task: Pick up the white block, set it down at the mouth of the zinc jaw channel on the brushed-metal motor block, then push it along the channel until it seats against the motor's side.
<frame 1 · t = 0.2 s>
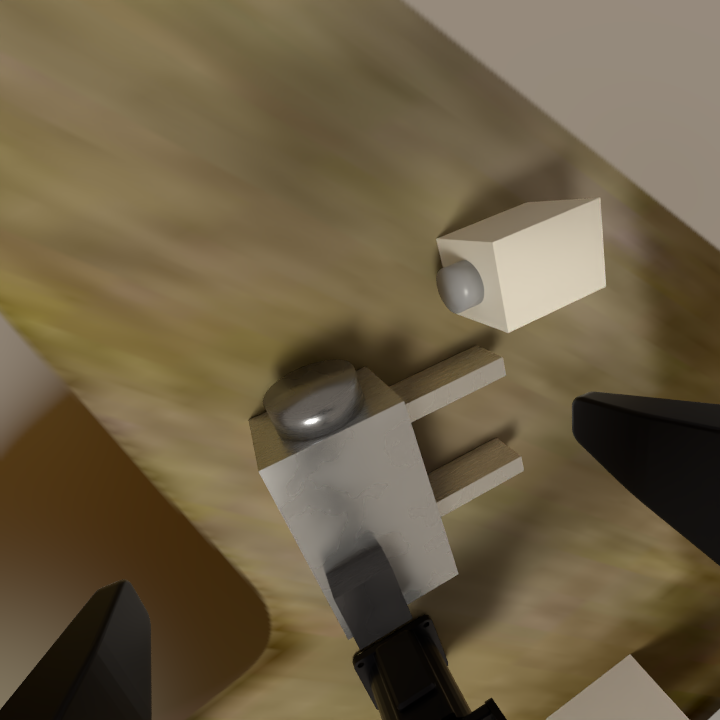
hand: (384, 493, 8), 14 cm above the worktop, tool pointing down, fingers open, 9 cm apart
white block: (488, 258, 24), on the worktop
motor: (344, 474, 25), on the worktop
milk: (594, 710, 46), on the worktop
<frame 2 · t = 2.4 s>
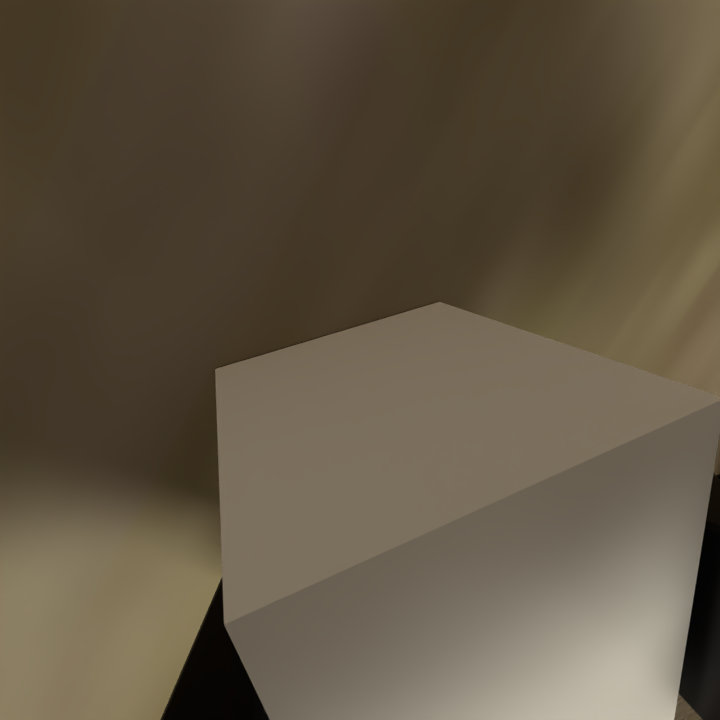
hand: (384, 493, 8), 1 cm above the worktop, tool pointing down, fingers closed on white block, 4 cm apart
white block: (365, 464, 9), on the worktop, touching gripper
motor: (646, 647, 15), on the worktop
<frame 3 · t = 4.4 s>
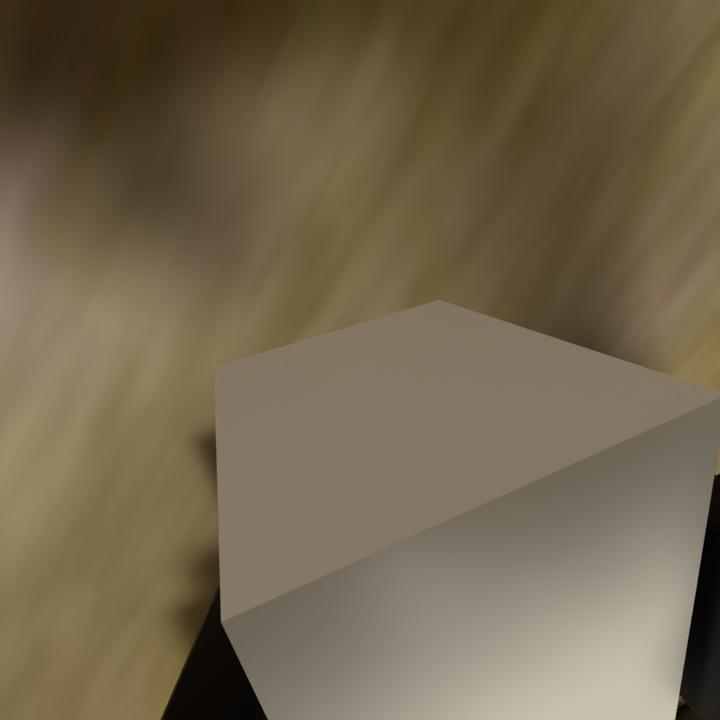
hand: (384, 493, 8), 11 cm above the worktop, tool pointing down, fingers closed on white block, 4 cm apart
white block: (365, 463, 9), point 10 cm above the worktop, touching gripper
when the fingers open (2 cm above the worktop, at t = 6.2 s): white block drops 2 cm, on the worktop.
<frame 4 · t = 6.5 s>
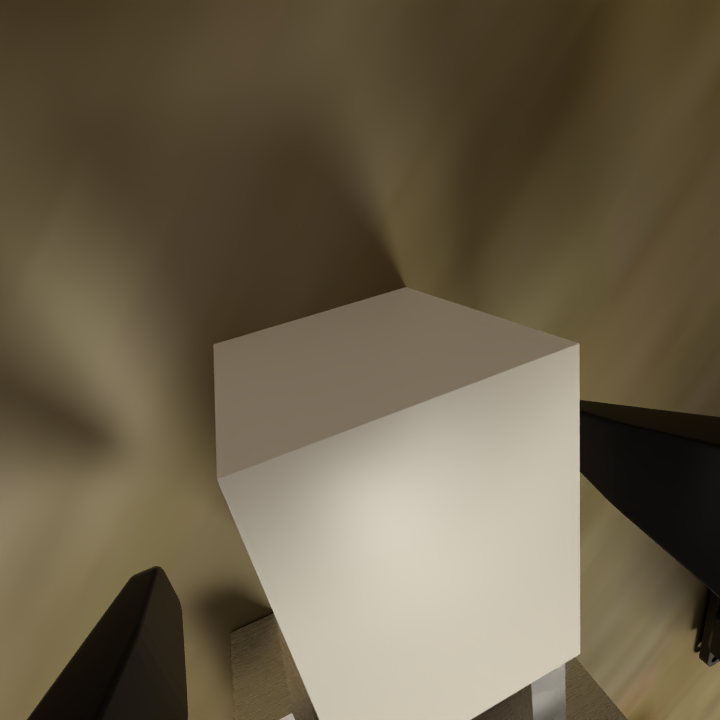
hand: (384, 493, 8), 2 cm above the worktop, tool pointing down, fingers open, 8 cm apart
white block: (344, 428, 10), on the worktop
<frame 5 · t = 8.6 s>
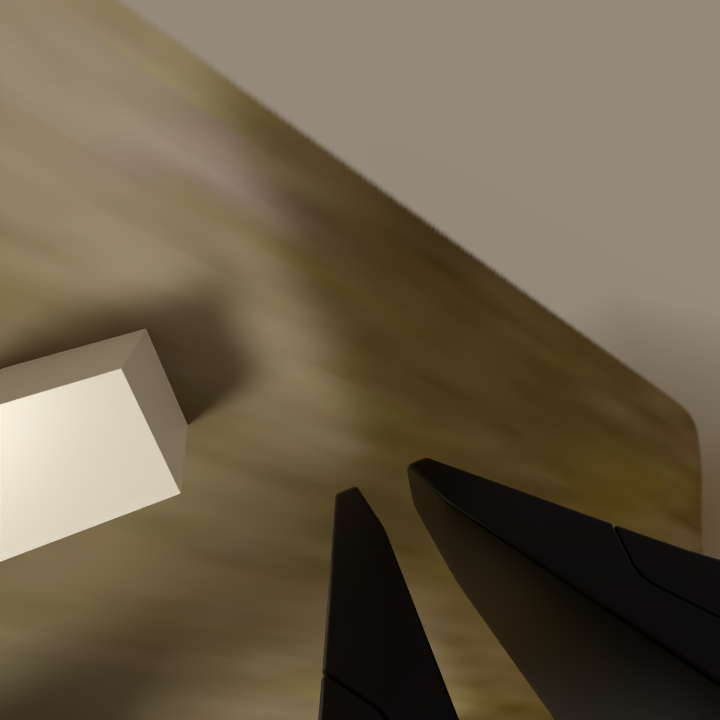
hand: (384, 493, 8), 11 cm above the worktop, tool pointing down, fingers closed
white block: (88, 403, 16), on the worktop
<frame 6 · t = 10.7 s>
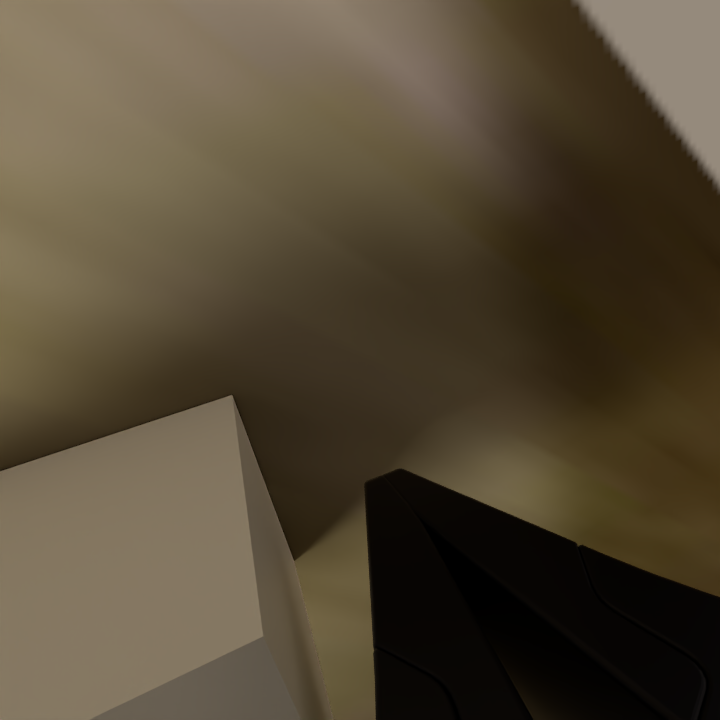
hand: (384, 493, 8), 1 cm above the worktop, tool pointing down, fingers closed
white block: (112, 546, 8), on the worktop, touching gripper
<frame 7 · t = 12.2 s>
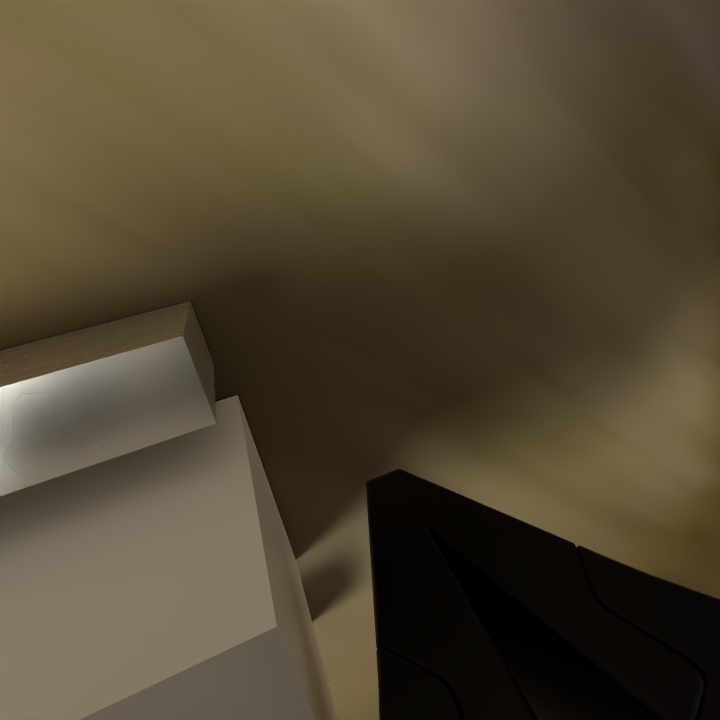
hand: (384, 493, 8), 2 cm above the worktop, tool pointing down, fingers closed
white block: (117, 545, 8), on the worktop, touching gripper, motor
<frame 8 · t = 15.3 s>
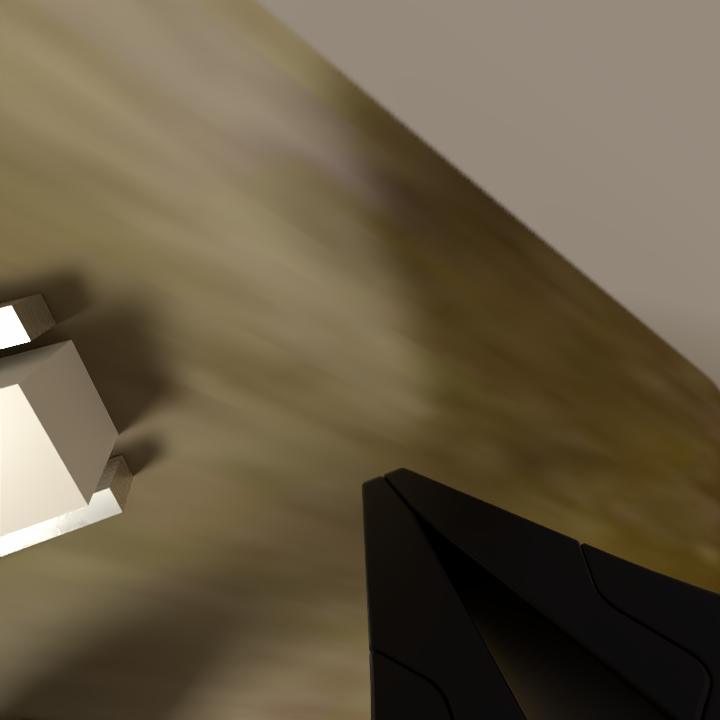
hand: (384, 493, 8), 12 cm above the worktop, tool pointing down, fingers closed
white block: (14, 412, 16), on the worktop
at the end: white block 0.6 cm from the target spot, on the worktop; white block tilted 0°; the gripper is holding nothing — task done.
